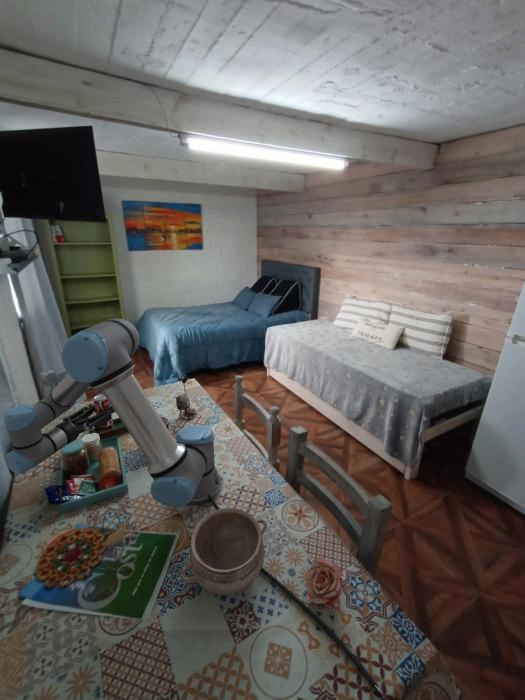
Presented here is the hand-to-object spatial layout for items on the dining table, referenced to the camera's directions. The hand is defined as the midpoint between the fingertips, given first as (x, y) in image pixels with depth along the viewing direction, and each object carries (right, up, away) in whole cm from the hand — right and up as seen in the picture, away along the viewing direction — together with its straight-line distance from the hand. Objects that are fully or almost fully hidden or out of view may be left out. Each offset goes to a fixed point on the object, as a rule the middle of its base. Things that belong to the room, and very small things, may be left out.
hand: (113, 402), depth 126 cm
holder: (-6, -14, +13) cm, 20 cm away
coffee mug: (+17, -17, +7) cm, 25 cm away
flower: (+74, -40, -47) cm, 97 cm away
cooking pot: (+50, -37, -43) cm, 76 cm away
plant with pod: (+23, -11, +25) cm, 36 cm away
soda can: (-2, -8, -2) cm, 8 cm away
